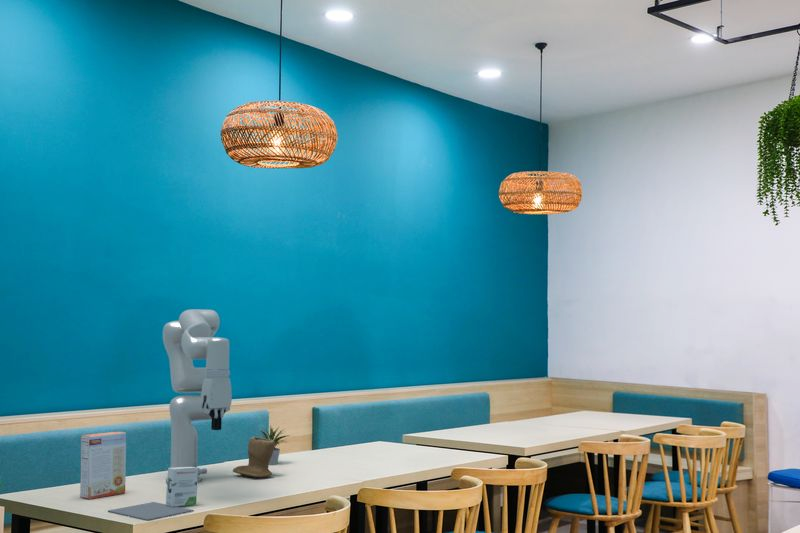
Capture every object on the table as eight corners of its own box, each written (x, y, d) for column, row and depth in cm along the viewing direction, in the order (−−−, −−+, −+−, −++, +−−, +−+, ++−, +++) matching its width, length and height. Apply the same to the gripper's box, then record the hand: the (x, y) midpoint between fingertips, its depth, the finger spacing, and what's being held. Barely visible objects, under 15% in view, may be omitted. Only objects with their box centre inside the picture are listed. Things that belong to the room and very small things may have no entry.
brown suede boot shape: (280, 476, 330) (281, 437, 331) (255, 480, 321) (256, 440, 322) (256, 472, 340) (257, 433, 341) (231, 475, 332) (232, 436, 333)
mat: (153, 503, 279) (153, 501, 279) (193, 511, 267) (193, 510, 267) (107, 511, 266) (107, 510, 266) (147, 520, 254) (147, 519, 254)
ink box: (189, 502, 280) (191, 465, 282) (196, 504, 276) (199, 467, 278) (164, 504, 275) (167, 467, 276) (172, 507, 271) (174, 468, 272)
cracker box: (116, 491, 299) (117, 430, 300) (125, 493, 295) (127, 432, 296) (78, 497, 288) (80, 434, 290) (88, 499, 284) (90, 435, 286)
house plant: (272, 468, 349) (272, 427, 350) (246, 465, 356) (246, 425, 357) (294, 463, 361) (294, 424, 362) (268, 461, 368) (269, 422, 370)
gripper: (226, 373, 298) (226, 427, 296) (192, 375, 286) (191, 431, 284) (241, 374, 293) (240, 428, 292) (207, 376, 281) (206, 432, 280)
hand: (216, 429), depth 288 cm, fingers closed
